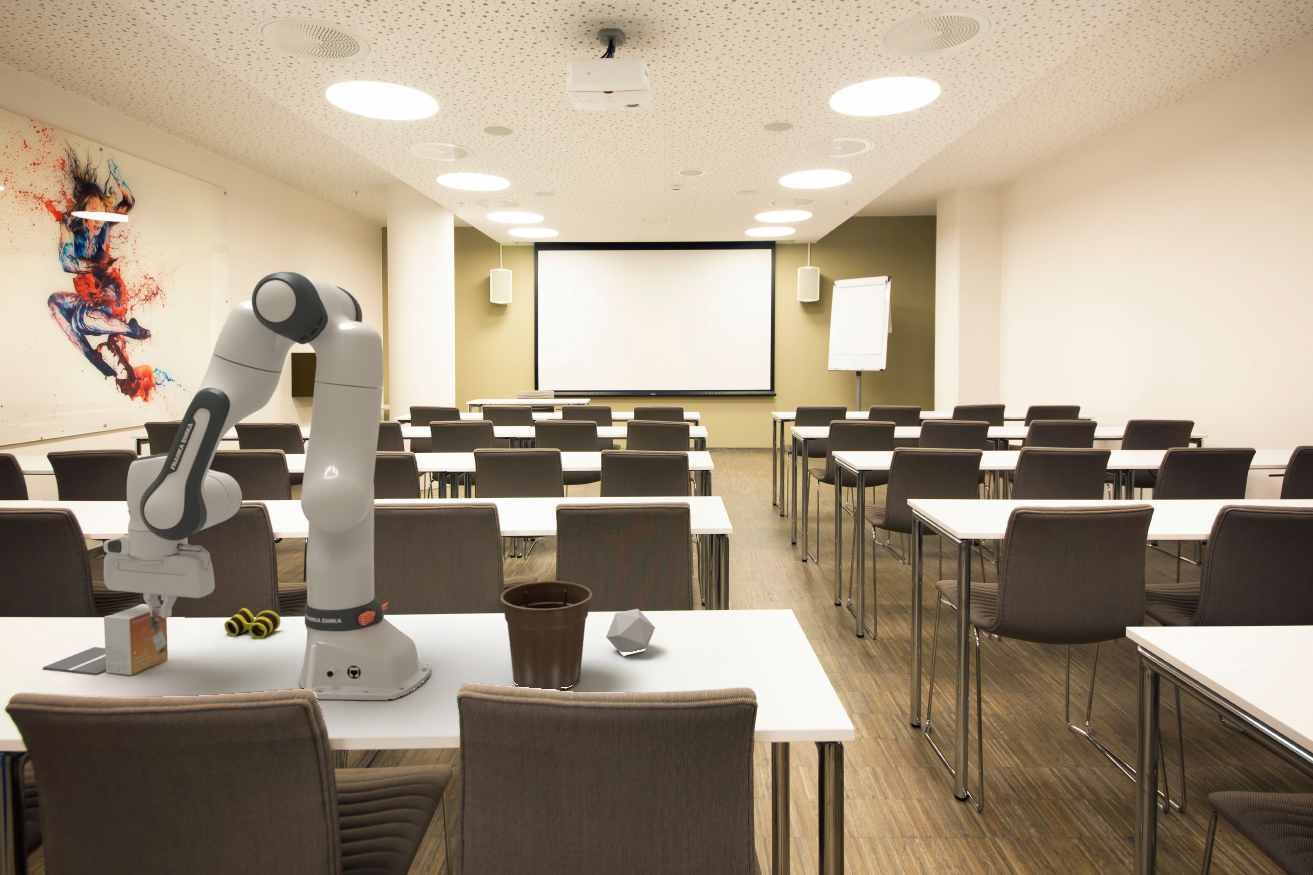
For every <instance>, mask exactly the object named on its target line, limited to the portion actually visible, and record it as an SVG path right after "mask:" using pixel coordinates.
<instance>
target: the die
mask: <svg viewBox="0 0 1313 875" xmlns="http://www.w3.org/2000/svg"><path fill="white" fill-rule="evenodd" d="M611 621H612V622H611V624H610V626H609V629H608V631H607V634H606V639H607V640H608V641H609V642H610V643H611V644H612V645H613V647H614V648H615V649H616V650H617V651H618V650H619V651H621V652H633V651H637V650H642V649H645V648H646V647H647V648H648V646H649V644H650V641H651V639H652V636H653V634H654V631H655V629H656V627H655V626H654V624H653V623H652V622H651V621H650V620H649V618H647V616H645V614H644V613H643V612H642V611H641V610H640V609H639V608H635V609H630V610H626V611H625V610H624V611H619V612H615V614H614V616H613V619H612V620H611ZM619 651H618V652H619Z"/></svg>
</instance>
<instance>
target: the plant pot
mask: <svg viewBox="0 0 1313 875" xmlns="http://www.w3.org/2000/svg"><path fill="white" fill-rule="evenodd" d="M592 598H593V592H592V591H591V589H590V588H588V587H586V586H585V585H583V584H579V583H574V582H569V581H560V580H545V581H535V582H534V581H532V582H526V583H521V584H517V585H515V586H512V587H509V588H508V589H506V590H504V591H503V592H502V593H501V594H500V602H501V603H502V605H503V612H504V614H503V615H504V619H505V621H506V623H507V624H506V625H507V633H508V640H509V641H508V642H509V647H510V648H509V650H510V661H511V670H512V671H511V672H512V681H513V680H514V681H513V683H514V682H515V683H516V684H518V685H515V686H516V687H517V686H519V687H529V688H541V689H556V690H563V691H565V690H567V689H565V688H561V687H569V686H571V685H574V684H575V685H576V683H577V682H579V681H580V680H581V677H580V676H582V673H581V672H582V661H583V651H584V649H583V648H584V641H585V640H584V638H585V629H586V628H585V627H586V621H587V620H586V619H587V618H588V615H589V607H590V601H591V600H592ZM579 679H580V680H579ZM578 680H579V681H578ZM575 685H574V686H575Z"/></svg>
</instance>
